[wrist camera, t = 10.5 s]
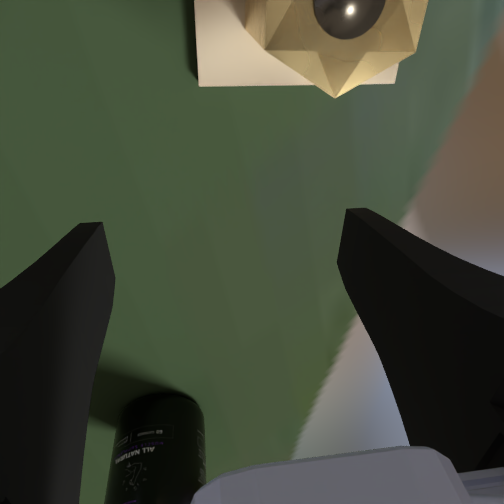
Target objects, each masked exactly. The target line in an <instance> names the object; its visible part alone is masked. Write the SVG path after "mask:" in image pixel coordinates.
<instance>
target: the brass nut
mask: <svg viewBox="0 0 504 504" xmlns="http://www.w3.org/2000/svg"><path fill="white" fill-rule="evenodd" d="M427 3H428V0H245V30H246V31H247V32H248V33H249V34H250V35H251V36H252V38H253V39H254V40H255V41H256V42H257V43H258V44H259V45H260V46H261V47H262V48H263V49H264V50H265V51H266V52H268V53H269V54H271V55H272V56H273V57H275V58H276V59H278V60H279V61H281V62H282V63H284V64H285V65H287V66H288V67H290V68H291V69H293V70H294V71H296V72H297V73H298V74H300V75H301V76H303V77H304V78H306V79H307V80H309V81H310V82H312V83H313V84H315V85H316V86H318V87H319V88H320V89H322V90H323V91H325V92H326V93H328V94H329V95H331V96H332V97H334V98H337V97H338V96H340V95H342V94H344V93H345V92H347V91H349V90H351V89H352V88H354V87H356V86H358V85H359V84H361V83H363V82H365V81H366V80H368V79H370V78H372V77H373V76H375V75H377V74H379V73H380V72H382V71H384V70H386V69H387V68H389V67H391V66H393V65H394V64H396V63H398V62H400V61H401V60H403V59H405V58H407V57H408V56H410V55H412V54H414V53H415V52H416V48H417V44H418V40H419V36H420V32H421V28H422V24H423V20H424V16H425V11H426V7H427Z"/></svg>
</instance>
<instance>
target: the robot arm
mask: <svg viewBox="0 0 504 504" xmlns="http://www.w3.org/2000/svg"><path fill="white" fill-rule="evenodd" d="M337 265H338V268H339V271H340V274H341V277H342V280H343V283H344V286H345V289H346V291H347V293H348V295H349V297H350V299H351V301H352V303H353V305H354V307H355V309H356V311H357V313H358V315H359V317H360V319H361V321H362V323H363V325H364V327H365V329H366V331H367V332H368V334H369V336H370V338H371V340H372V342H373V344H374V346H375V348H376V351H377V353H378V355H379V357H380V360H381V362H382V365H383V368H384V370H385V373H386V376H387V378H388V381H389V383H390V386H391V389H392V392H393V395H394V398H395V400H396V403H397V406H398V409H399V412H400V415H401V418H402V421H403V425H404V428H405V431H406V434H407V437H408V441H409V444H410V446H396V447H388V448H381V449H373V450H366V451H358V452H351V453H343V454H335V455H327V456H320V457H312V458H304V459H297V460H289V461H281V462H274V463H266V464H258V465H252V466H249V467H245V468H241V469H237V470H234V471H230V472H226V473H223V474H221V475H219V476H218V477H216V478H215V479H213V480H212V481H210V482H208V483H207V484H205V485H204V486H202V487H201V488H200V489H199V490H198V491H197V492H196V493H195V494H194V497H193V499H192V502H191V504H504V276H502V275H499V274H496V273H493V272H491V271H488V270H486V269H483V268H481V267H478V266H476V265H474V264H471V263H469V262H467V261H464V260H462V259H460V258H458V257H455V256H453V255H451V254H449V253H447V252H445V251H443V250H441V249H439V248H437V247H435V246H433V245H432V244H430V243H428V242H426V241H424V240H422V239H420V238H419V237H417V236H415V235H413V234H412V233H410V232H408V231H407V230H405V229H403V228H401V227H400V226H398V225H396V224H395V223H393V222H391V221H389V220H388V219H386V218H384V217H383V216H381V215H379V214H377V213H375V212H373V211H371V210H369V209H367V208H353V209H346V214H345V219H344V225H343V230H342V236H341V242H340V247H339V253H338V259H337ZM114 288H115V274H114V270H113V266H112V261H111V257H110V253H109V248H108V244H107V240H106V235H105V231H104V227H103V222H92V223H80V224H78V225H77V226H76V227H75V228H73V229H72V230H71V231H70V232H69V233H68V234H67V235H65V236H64V237H63V238H62V239H61V240H60V241H59V242H58V243H56V244H55V245H54V246H53V247H52V248H51V249H50V250H48V251H47V252H46V253H45V254H44V255H43V256H42V257H40V258H39V259H38V260H37V261H36V262H34V263H33V264H32V265H31V266H29V267H28V268H27V269H26V270H24V271H23V272H22V273H20V274H19V275H18V276H17V277H15V278H14V279H13V280H12V281H10V282H9V283H8V284H6V285H5V286H3V287H2V288H1V289H0V504H79V496H80V486H81V476H82V466H83V456H84V448H85V440H86V431H87V423H88V416H89V408H90V401H91V394H92V387H93V383H94V378H95V373H96V369H97V365H98V361H99V358H100V354H101V350H102V346H103V342H104V338H105V335H106V331H107V327H108V323H109V319H110V315H111V311H112V306H113V297H114Z"/></svg>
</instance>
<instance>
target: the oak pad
mask: <svg viewBox="0 0 504 504" xmlns="http://www.w3.org/2000/svg"><path fill="white" fill-rule="evenodd" d="M194 10H195V28H196V46H197V64H198V82H199V86H268V85H315V84H313V83H312V82H310V81H309V80H307V79H306V78H304V77H303V76H301V75H300V74H298V73H297V72H296V71H294V70H293V69H291V68H290V67H288V66H287V65H285V64H284V63H282V62H281V61H279V60H278V59H276V58H275V57H273V56H272V55H271V54H269V53H268V52H266V51H265V50H264V49H263V48H262V47H261V46H260V45H259V44H258V43H257V42H256V41H255V40H254V39H253V38H252V36H251V35H250V34H249V33H248V32H247V31H246V30H245V0H194ZM398 64H399V62H398V63H396V64H394V65H393V66H391V67H389V68H387V69H386V70H384V71H382V72H380V73H379V74H377V75H375V76H373V77H372V78H370V79H368V80H366V81H365V82H363V83H361V84H394V83H395V78H396V74H397V69H398Z"/></svg>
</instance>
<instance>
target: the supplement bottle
mask: <svg viewBox="0 0 504 504" xmlns="http://www.w3.org/2000/svg"><path fill="white" fill-rule="evenodd" d="M205 484H206V456H205V426H204V416H203V413H202V411H201V409H200V408H199V407H198V406H197V405H196V404H195V403H194V402H193V401H191V400H189V399H187V398H185V397H182V396H178V395H172V394H155V395H149V396H145V397H142V398H140V399H137V400H135V401H134V402H132V403H130V404H129V405H128V406H127V407H126V408H125V409H124V410H123V411H122V412H121V414H120V416H119V418H118V422H117V428H116V433H115V439H114V445H113V452H112V458H111V464H110V470H109V477H108V483H107V489H106V495H105V502H104V504H191V502H192V499H193V497H194V494H195V493H196V492H197V491H198V490H199V489H200V488H201V487H202V486H204V485H205Z"/></svg>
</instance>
